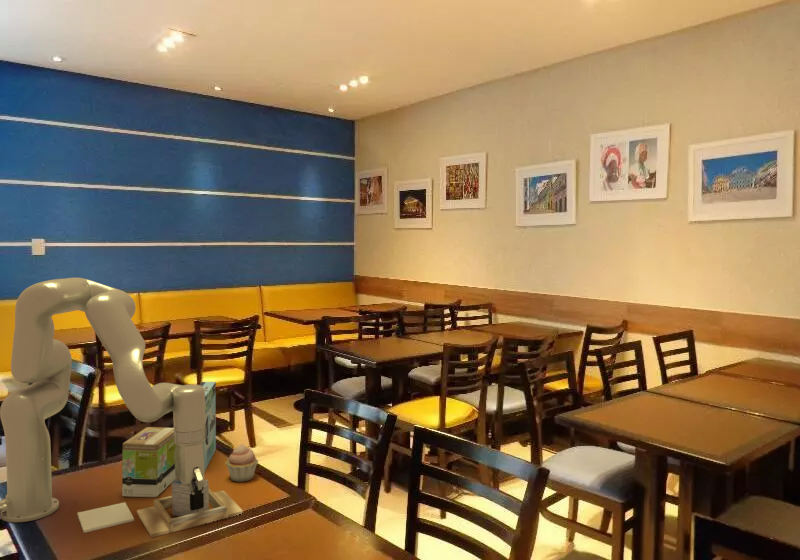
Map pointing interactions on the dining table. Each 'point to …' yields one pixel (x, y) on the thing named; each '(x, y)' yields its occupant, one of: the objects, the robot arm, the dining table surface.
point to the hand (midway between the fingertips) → (191, 501)
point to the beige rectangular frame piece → (162, 524)
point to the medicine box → (186, 498)
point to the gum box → (209, 421)
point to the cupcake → (241, 464)
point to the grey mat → (105, 517)
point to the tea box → (148, 462)
